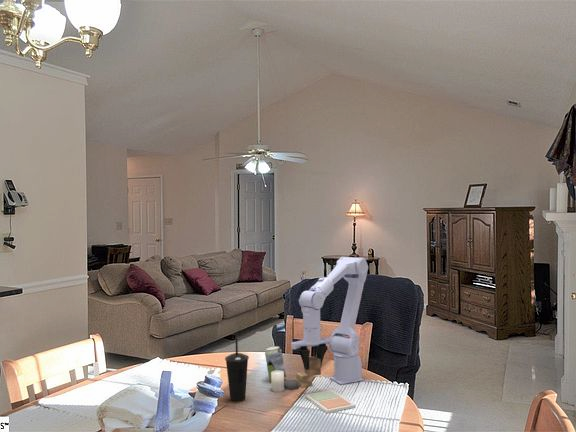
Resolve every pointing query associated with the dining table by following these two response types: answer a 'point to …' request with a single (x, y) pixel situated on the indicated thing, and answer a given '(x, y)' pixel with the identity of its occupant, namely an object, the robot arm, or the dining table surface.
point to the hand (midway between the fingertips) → (312, 368)
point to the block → (314, 366)
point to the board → (329, 401)
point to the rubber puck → (291, 384)
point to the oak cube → (304, 380)
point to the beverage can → (274, 360)
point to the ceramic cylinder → (277, 381)
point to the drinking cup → (237, 374)
